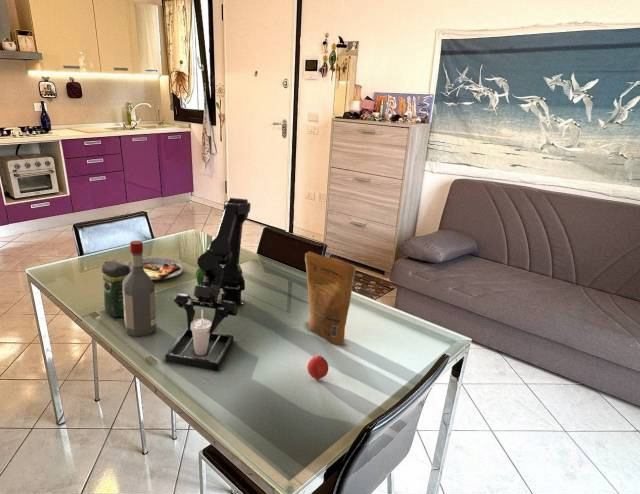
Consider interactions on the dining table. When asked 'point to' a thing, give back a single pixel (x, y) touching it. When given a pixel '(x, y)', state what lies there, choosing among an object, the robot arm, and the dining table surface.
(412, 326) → the dining table surface
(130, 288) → the liquor
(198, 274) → the bell pepper
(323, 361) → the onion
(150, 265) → the food plate
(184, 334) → the divided serving tray
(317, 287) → the pancake mix bag
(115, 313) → the coffee jar
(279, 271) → the dining table surface
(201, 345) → the smoothie
